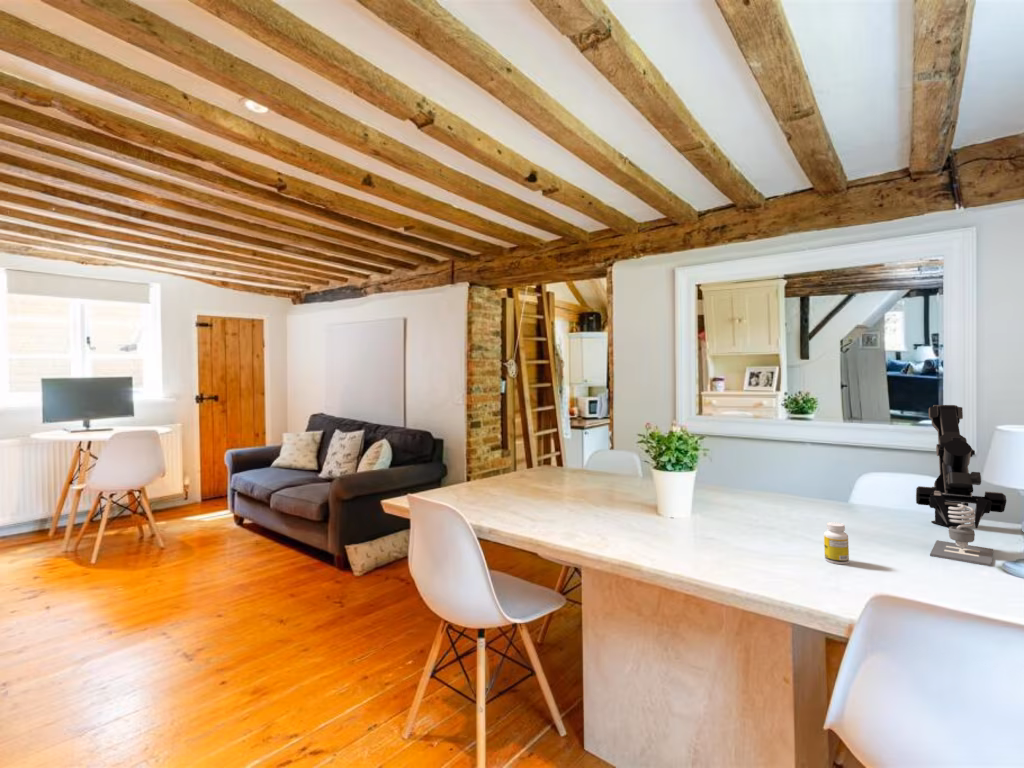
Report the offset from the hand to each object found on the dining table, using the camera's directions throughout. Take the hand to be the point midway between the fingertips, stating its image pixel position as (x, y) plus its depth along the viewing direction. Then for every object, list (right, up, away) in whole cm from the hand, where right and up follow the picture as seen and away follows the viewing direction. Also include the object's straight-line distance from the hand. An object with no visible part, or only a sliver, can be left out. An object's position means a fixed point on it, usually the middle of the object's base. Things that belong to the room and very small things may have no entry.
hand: (962, 525), depth 139 cm
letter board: (+1, -8, +1) cm, 8 cm away
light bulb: (+1, -7, +1) cm, 7 cm away
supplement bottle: (-36, -9, -3) cm, 37 cm away
